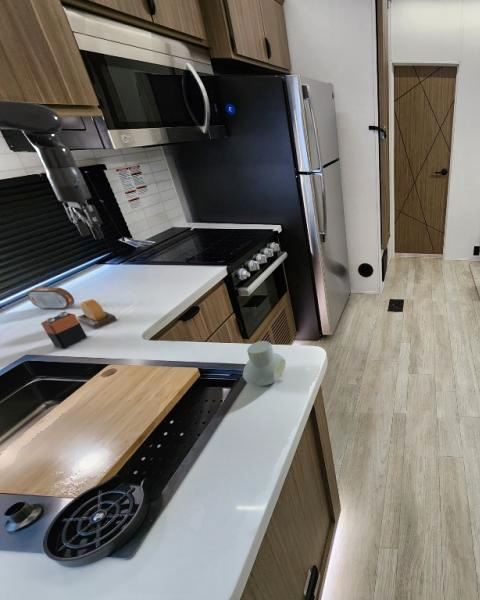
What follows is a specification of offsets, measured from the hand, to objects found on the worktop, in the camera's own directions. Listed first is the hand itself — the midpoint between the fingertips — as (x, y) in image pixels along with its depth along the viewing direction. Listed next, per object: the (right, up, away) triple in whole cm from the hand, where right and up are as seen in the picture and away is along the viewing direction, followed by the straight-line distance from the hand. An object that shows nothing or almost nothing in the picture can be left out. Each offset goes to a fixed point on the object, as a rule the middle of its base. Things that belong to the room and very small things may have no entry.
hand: (93, 237), depth 105 cm
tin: (-35, -23, +22) cm, 47 cm away
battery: (-7, -34, +1) cm, 35 cm away
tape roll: (-10, -28, +13) cm, 32 cm away
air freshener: (+62, -41, -16) cm, 76 cm away
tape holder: (-10, -28, +13) cm, 32 cm away
